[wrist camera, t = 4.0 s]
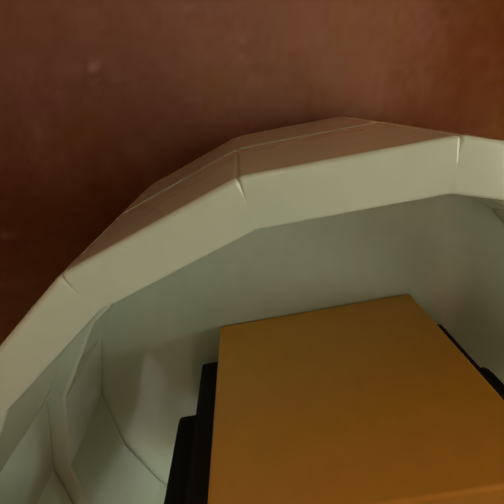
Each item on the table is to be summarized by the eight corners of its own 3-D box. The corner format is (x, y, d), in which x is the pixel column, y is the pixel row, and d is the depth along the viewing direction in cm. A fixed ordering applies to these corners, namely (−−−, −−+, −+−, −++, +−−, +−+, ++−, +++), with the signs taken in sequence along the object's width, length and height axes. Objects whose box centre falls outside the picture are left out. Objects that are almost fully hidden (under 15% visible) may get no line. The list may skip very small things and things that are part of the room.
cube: (253, 457, 12) (264, 695, 7) (219, 325, 10) (203, 534, 5) (412, 432, 11) (531, 658, 7) (409, 292, 9) (574, 475, 5)
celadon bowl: (155, 548, 14) (114, 771, 9) (-17, 182, 8) (-318, 282, 4) (532, 490, 13) (687, 694, 9) (608, 62, 8) (1110, 11, 3)
